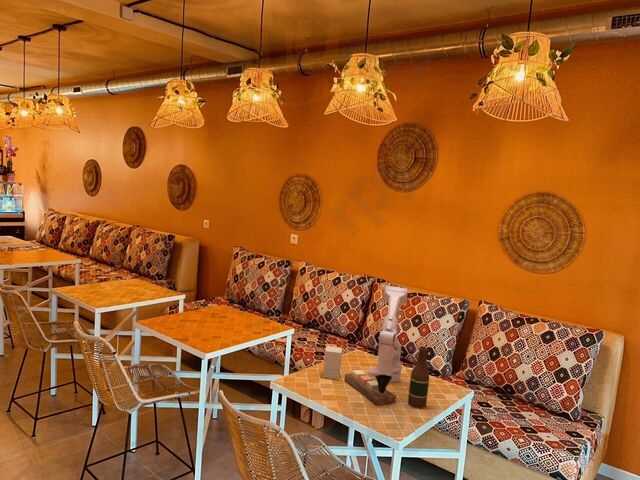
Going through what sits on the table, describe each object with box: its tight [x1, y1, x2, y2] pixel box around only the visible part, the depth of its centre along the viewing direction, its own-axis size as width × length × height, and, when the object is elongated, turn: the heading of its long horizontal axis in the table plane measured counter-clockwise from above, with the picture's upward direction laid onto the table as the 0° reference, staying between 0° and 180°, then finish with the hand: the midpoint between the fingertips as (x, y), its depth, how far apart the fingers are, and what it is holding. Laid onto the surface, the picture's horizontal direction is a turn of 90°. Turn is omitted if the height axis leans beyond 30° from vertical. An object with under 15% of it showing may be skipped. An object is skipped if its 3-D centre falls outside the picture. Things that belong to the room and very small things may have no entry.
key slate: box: [374, 390, 389, 397], centre depth 198 cm, size 4×4×2 cm
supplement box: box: [322, 345, 343, 380], centre depth 218 cm, size 7×7×13 cm
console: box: [344, 372, 397, 407], centre depth 206 cm, size 9×26×3 cm, turn 27°
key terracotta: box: [359, 374, 374, 385], centre depth 208 cm, size 4×4×2 cm
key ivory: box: [351, 369, 367, 379], centre depth 213 cm, size 4×4×2 cm
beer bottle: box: [407, 345, 430, 409], centre depth 196 cm, size 8×8×24 cm
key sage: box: [366, 380, 379, 391], centre depth 203 cm, size 4×4×2 cm
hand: (381, 392), depth 197 cm, fingers closed, pressing on key slate
